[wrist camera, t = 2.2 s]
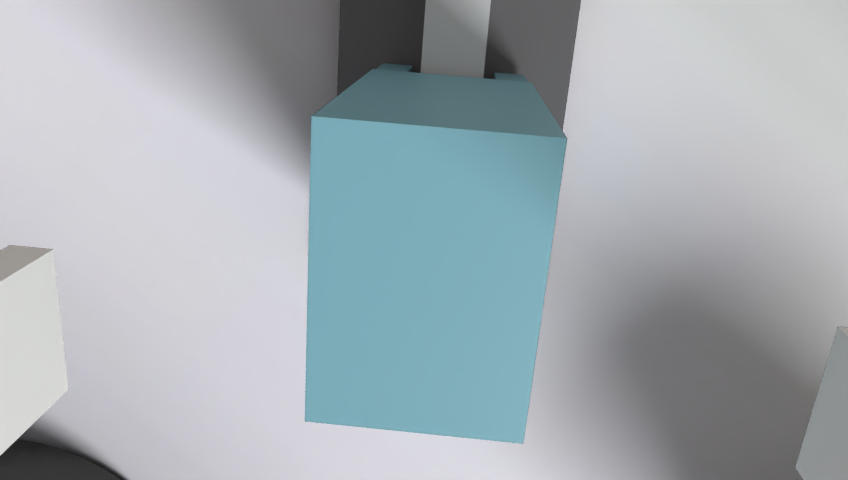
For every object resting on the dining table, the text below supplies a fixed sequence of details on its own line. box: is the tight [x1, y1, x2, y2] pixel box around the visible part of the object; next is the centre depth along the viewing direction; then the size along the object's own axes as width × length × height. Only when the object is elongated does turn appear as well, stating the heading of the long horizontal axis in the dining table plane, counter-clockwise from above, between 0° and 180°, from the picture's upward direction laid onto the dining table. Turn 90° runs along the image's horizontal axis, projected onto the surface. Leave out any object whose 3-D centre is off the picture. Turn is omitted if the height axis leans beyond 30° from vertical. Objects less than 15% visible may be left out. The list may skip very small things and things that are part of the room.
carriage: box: [305, 63, 567, 444], centre depth 20 cm, size 5×7×11 cm
